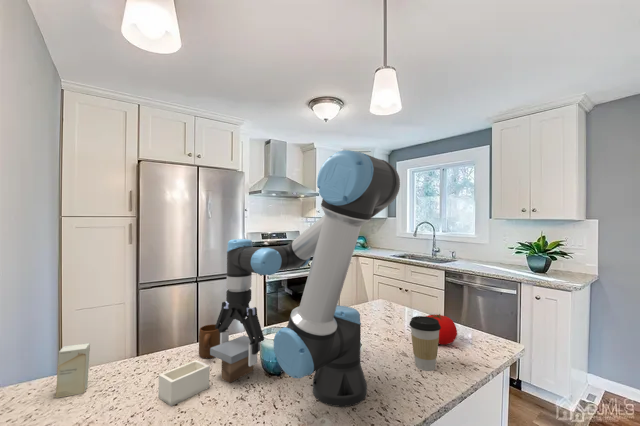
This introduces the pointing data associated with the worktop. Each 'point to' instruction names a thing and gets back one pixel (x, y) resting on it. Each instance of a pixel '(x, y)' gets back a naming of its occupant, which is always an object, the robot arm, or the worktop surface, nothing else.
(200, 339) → the mug
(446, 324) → the tomato
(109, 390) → the worktop surface
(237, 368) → the block
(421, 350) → the coffee cup
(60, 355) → the skincare box
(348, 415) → the worktop surface
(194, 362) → the white open box
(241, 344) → the tile lid
